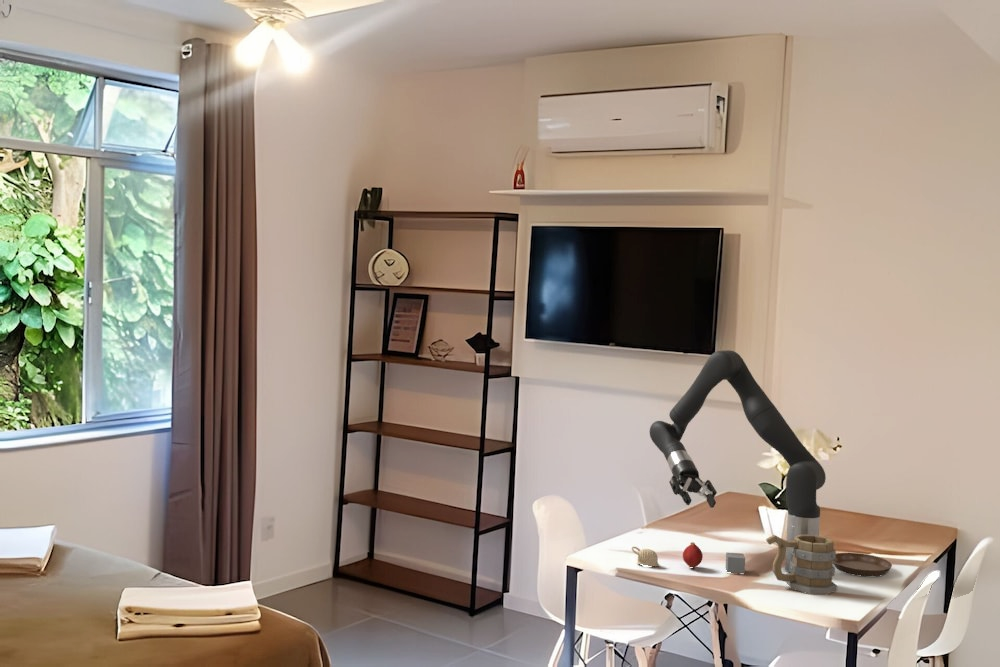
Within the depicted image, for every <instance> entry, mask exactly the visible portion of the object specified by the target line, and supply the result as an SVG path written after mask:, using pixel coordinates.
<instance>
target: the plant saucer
mask: <svg viewBox="0 0 1000 667" xmlns="http://www.w3.org/2000/svg"><path fill="white" fill-rule="evenodd" d="M892 566H893V564H892V563H891V562H890V561H889V560H887V559H885V558H883V557H880V556H876V555H871V554H867V553H858V552H840V553H836V557H835V559H833V567H834V568H835V569H837V570H838V571H840V572H842V573H845V574H850V575H852V574H854V575H853V576H857V575H861V576H860V577H866V576H876V577H881V576H880V575H882V576H885V574H886V573H888V572H889V571H890V570H891V568H892Z"/></svg>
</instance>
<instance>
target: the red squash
mask: <svg viewBox="0 0 1000 667" xmlns="http://www.w3.org/2000/svg"><path fill="white" fill-rule="evenodd" d="M702 552H703V551H702V550H701V548H700V547H699V546H698V545H696V542H693V541H691V542H690V545H688V546H686V548H685V549H684V550H683V552H682V560H683V561H684V563H685V564H686V565H687V566H688V567H689V568H690V567H693V569H694V568H697V567H698V566H699V565H700V564H701V563H702V561H703V553H702Z"/></svg>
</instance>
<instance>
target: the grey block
mask: <svg viewBox="0 0 1000 667" xmlns="http://www.w3.org/2000/svg"><path fill="white" fill-rule="evenodd" d="M725 568H726V569H725ZM725 568H724V569H725V571H726V570H727V571H726V573H727V572H731V573H746V572H745V571H746V557H745V555H744V553H739V552H738V553H736V552H726V554H725Z"/></svg>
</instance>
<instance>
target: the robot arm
mask: <svg viewBox="0 0 1000 667" xmlns="http://www.w3.org/2000/svg"><path fill="white" fill-rule="evenodd" d="M725 380H726V381H727V383H729V385H730V386H731V387H732V388H733V389H734V391H735V393H737V395H738V397H739V399H740V402H741V405H742V409H743V412H744V415H745V417H746V419H747V421H748V423H749V424H750V425H751V426H752V428H753V429H754V431H755V433H756V434H757V435H758V436H759V437H760V438H761V440H763V441H764V442H765V443H766V444H768V445H769V446H770V447H771V448H773V449H774V450H775V451H777V452H778V453H779V454H780V455H781V457H782V458H783V459H784V460H785V461H786V463H787V464H788V465H789V468H788V470H787V474H786V478H785V480H786V481H785V482H786V483H785V503H786V506H787V520H786V523H787V526H786V539H785V540H786V541H793V540H794V537H795V536H798V535H814V536H815V535H817V536H820V523H821V522H820V520H821V518H820V517H821V508H820V506H819V505H818V503H817V490H819V489H821V488H823V486H824V485H825V483H826V477H827V476H826V472H825V470H824V468H823V466H822V464H821V463H820V462H819V461H818V460H817V459H816V458H815V457H814V455H812V453H811V452H810V451H809V450H808V449H807V448H806V447H805V446H804V444H803V443H802V442H801V441H800V439H799V438H798V437H797V434H795V432H794V431H793V429H792V428H791V426H790V425H789V424H788V422H787V421H786V419H785V418H784V417H783V415H782V414H781V412H780V411H779V410H778V409H777V407H776V405H775V404H774V403H773V402H772V401H771V399H770V398H769V396H768V395H767V394H766V393H765V391H764V390H763V389H762V388H761V386H760V385H759V384H758V382H757V381H756V379H755V378H754V377H753V375H752V373H751V371H750V370H749V368H748V366H747V364H746V362H745V360H744V359H743V358H742V356H741V355H740V354H739V353H738V352H736V351H735V350H731V349H729V350H728V349H726V350H717V351H715V352H713V353H711V355H710V356H709V357H708V359H707V360H706V361H705V363H704V364H703V367H702V369H701V370H700V372H699V374H698V375H697V376H696V378H695V380H694V381H693V383H692V384H691V386H690V387H689V388H688V389H687V391H686V392H685V393H684V394H683V396H682V397H681V398H680V399H679V400H678V401H677V403H676V404H675V405H674V406H672V409H671V410H670V411H669V414H668V415H669V419H670V420H671V421H672V422H673V423H672V424H671V423H668V422H666V421H663V420H656V421H654V422H652V423H651V425H650V428H649V437H650V439H651V441H652V443H653V444H654V445H655V446H656V447H657V449H659V451H660V452H661V453H662V454H663V456H664V458H665V460H666V462H667V464H668V468H669V470H670V472H671V474H672V476H671V478H670V480H669V485H670V488H671V490H672V492H673V494H674V495H675V496H678V495H679V497H681V499H682V501H683V503H685V505H686V506H689V505H690V504H691V502H692V498H691V496H690V495H689V494H690V493H695V494H697V495H698V496H700V497H703V498H704V499H706V502H707V503H708V506H709V508H714V507H715V505H716V503H717V501H716V500H715V497H716V495H717V490H716V489H715V487H714V486H713V485H714V484H712V482H711V480H709V479H706V481H703V480H702V479H701V478H700V472H699V470H698V468H697V466H696V465H695V463H694V461H693V458H692V457H691V456H690V454H689V453H688V451H687V449H686V448H685V446H684V444H683V443H682V442H681V440H682V438H683V436H684V434H685V431H686V430H687V428H688V425H689V423H691V421H692V420H693V419H694V418H695V417H696V415H697V414H698V413H699V412H700V411H701V409H702V408H703V406H704V403H705V401H706V399H707V397H708V395H709V394H710V393H711V391H713V389H714V388H715V387H716V386H718V384H720V383H721V382H722V381H725ZM681 487H682V488H681ZM701 489H702V491H701ZM790 551H791V547H786V554H785V562H784V565H785V566H784V569H785V571H786V572H787V571H788V573H789V574H791V573H792V571H791V570H790V562H792V560H793V555H792V554H791V553H790Z"/></svg>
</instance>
